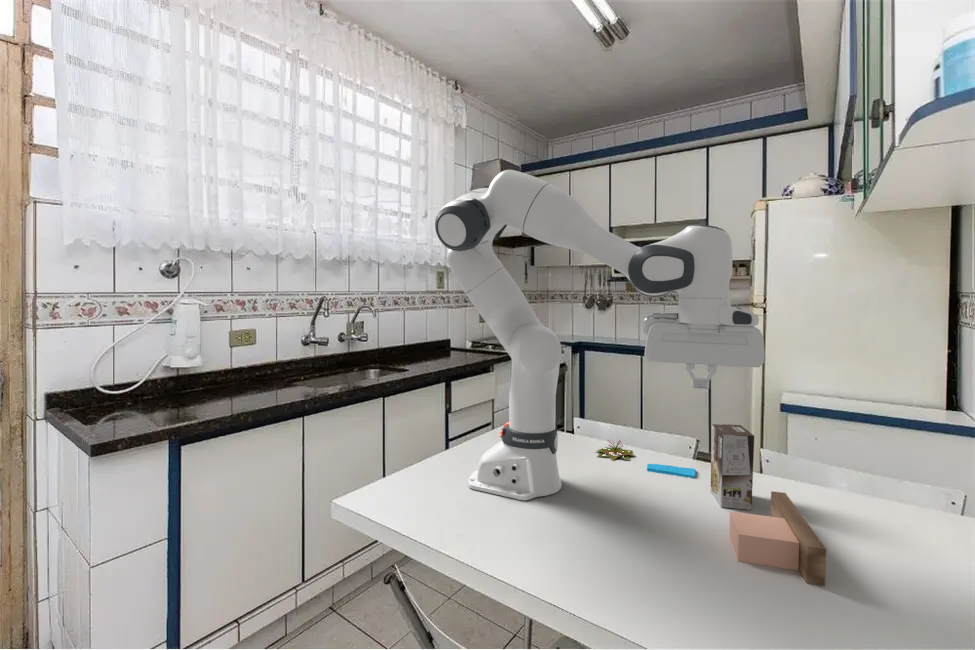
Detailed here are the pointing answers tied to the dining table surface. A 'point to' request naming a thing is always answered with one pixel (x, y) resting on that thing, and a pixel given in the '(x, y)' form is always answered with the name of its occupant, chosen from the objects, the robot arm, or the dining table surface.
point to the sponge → (671, 470)
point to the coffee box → (732, 466)
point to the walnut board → (802, 539)
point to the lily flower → (615, 451)
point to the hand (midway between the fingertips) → (699, 388)
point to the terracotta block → (763, 540)
